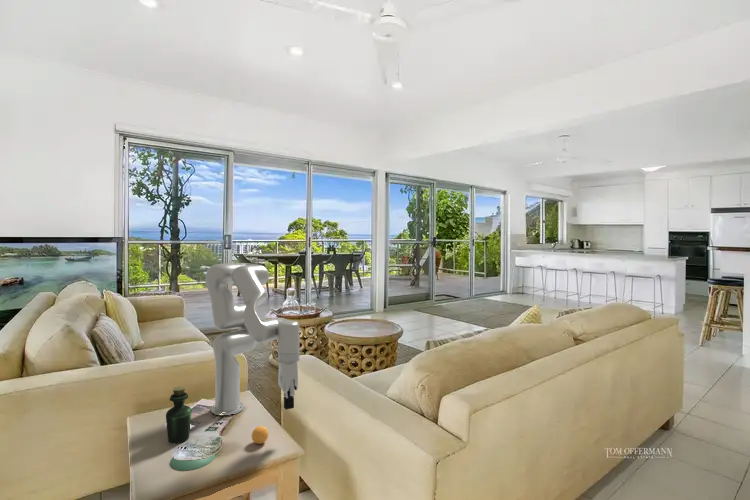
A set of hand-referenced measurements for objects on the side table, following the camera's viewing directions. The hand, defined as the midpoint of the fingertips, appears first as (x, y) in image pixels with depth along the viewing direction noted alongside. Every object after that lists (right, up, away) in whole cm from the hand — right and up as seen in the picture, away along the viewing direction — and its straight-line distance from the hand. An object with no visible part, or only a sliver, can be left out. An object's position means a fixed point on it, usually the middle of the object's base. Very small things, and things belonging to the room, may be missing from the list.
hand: (288, 407), depth 139 cm
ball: (-9, -8, -4) cm, 13 cm away
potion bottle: (-38, -10, -3) cm, 39 cm away
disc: (-27, -11, -14) cm, 33 cm away
